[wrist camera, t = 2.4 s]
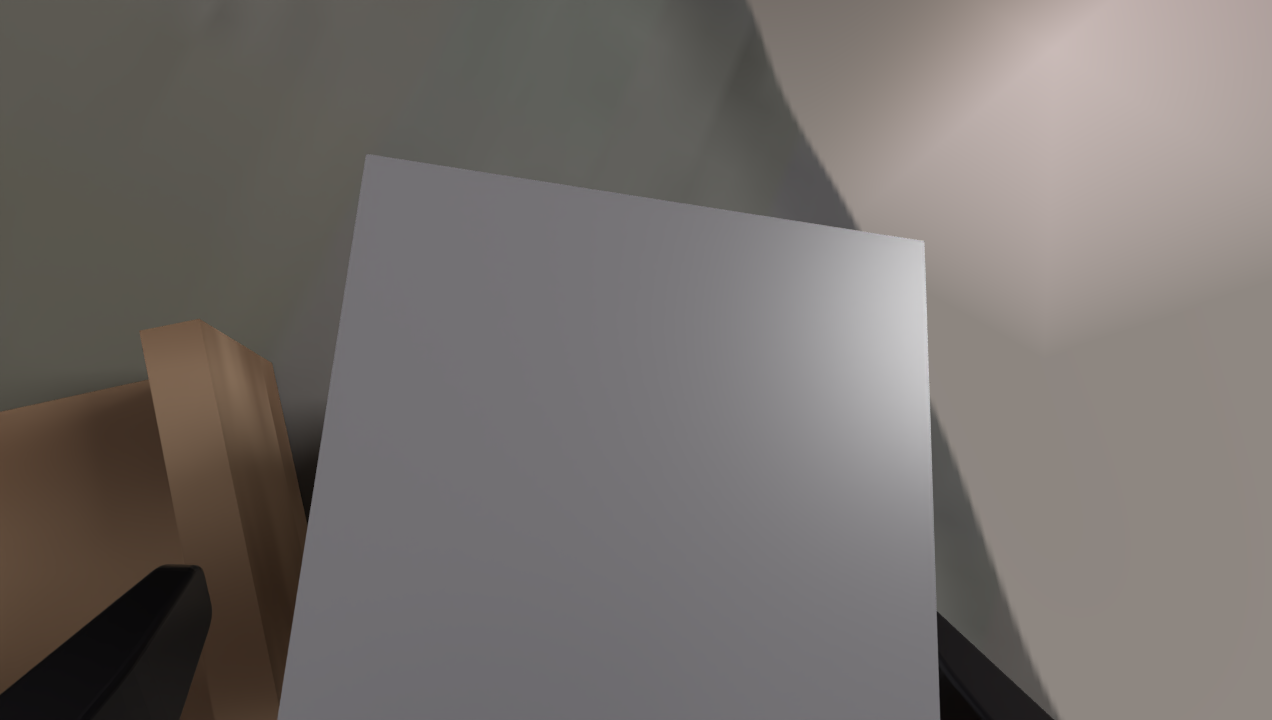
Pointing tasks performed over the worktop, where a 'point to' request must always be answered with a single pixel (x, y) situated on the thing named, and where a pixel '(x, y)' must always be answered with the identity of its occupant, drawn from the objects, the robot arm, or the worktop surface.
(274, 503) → the comb rack
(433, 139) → the worktop surface
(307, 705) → the grey piece
